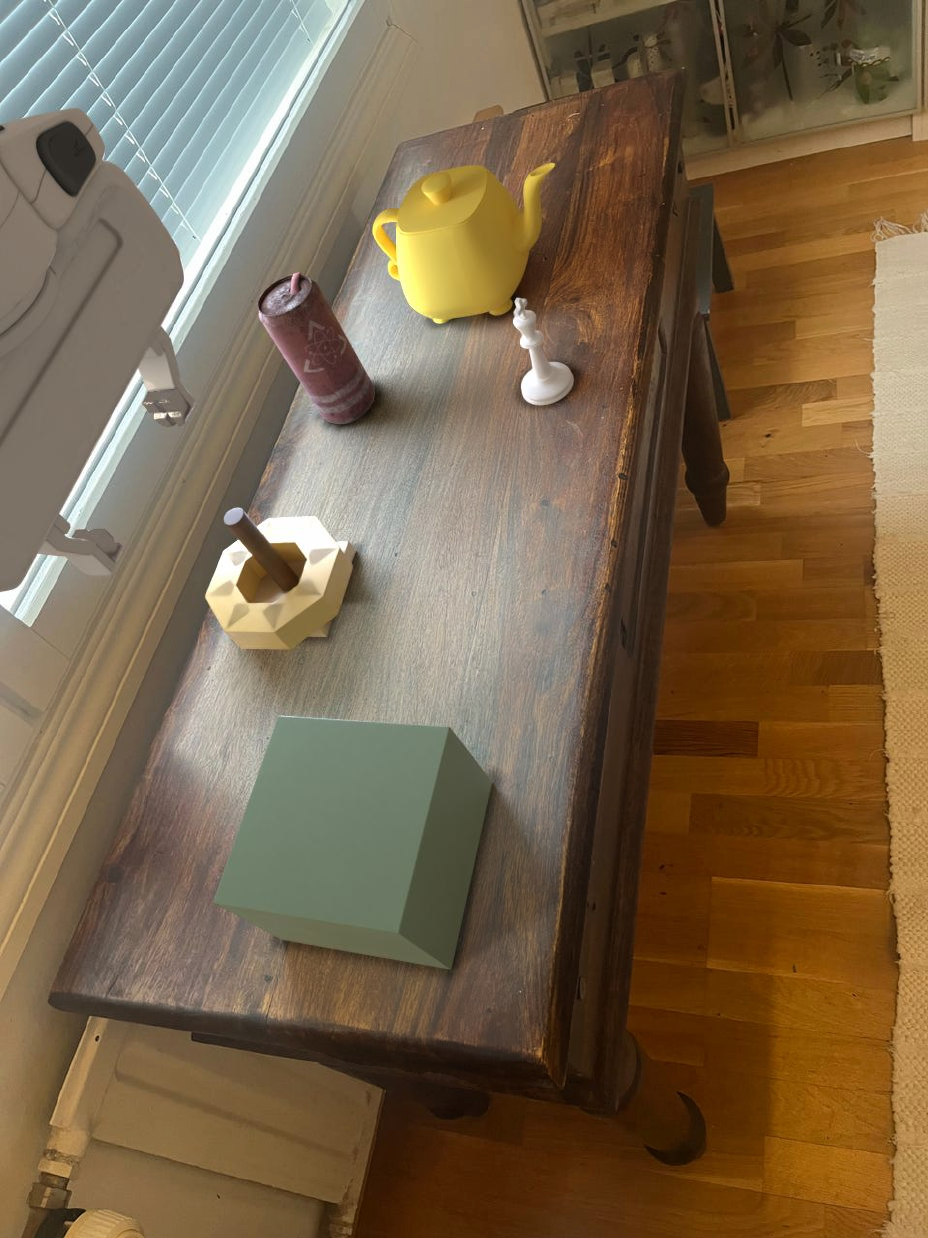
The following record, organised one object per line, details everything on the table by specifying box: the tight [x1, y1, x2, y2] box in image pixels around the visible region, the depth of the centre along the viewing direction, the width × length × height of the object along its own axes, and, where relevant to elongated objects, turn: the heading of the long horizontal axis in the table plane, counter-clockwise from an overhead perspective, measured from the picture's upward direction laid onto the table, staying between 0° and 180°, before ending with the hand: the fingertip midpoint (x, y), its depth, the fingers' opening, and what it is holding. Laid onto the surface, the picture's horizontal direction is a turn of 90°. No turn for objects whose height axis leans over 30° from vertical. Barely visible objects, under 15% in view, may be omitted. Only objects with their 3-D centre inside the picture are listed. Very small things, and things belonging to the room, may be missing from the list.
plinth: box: [212, 715, 493, 970], centre depth 62 cm, size 13×13×9 cm
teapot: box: [372, 162, 556, 324], centre depth 92 cm, size 14×20×13 cm
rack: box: [223, 507, 356, 638], centre depth 78 cm, size 9×9×11 cm
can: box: [256, 271, 376, 425], centre depth 89 cm, size 6×6×14 cm
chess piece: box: [512, 297, 575, 406], centre depth 82 cm, size 5×5×10 cm
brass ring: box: [204, 515, 354, 651], centre depth 80 cm, size 12×12×3 cm
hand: (145, 486), depth 46 cm, fingers open, 8 cm apart
